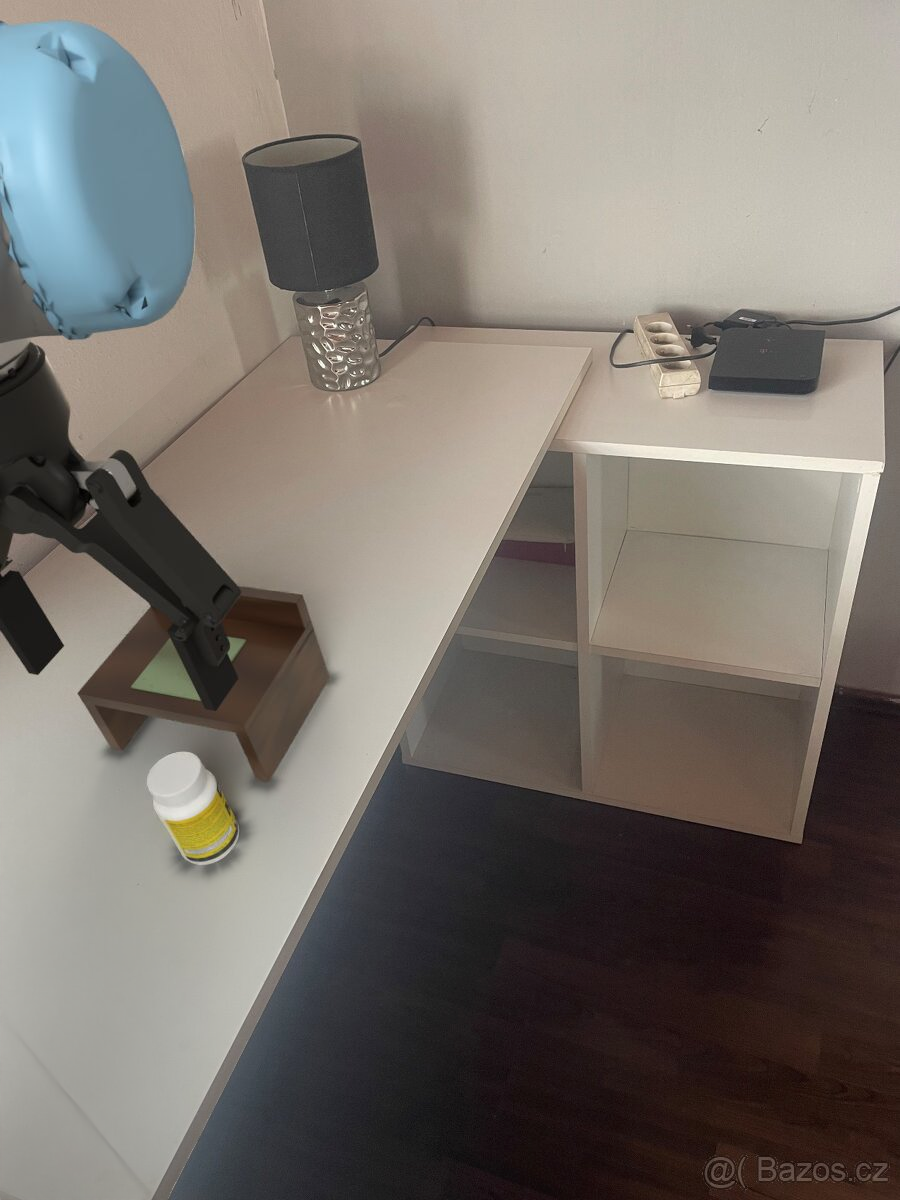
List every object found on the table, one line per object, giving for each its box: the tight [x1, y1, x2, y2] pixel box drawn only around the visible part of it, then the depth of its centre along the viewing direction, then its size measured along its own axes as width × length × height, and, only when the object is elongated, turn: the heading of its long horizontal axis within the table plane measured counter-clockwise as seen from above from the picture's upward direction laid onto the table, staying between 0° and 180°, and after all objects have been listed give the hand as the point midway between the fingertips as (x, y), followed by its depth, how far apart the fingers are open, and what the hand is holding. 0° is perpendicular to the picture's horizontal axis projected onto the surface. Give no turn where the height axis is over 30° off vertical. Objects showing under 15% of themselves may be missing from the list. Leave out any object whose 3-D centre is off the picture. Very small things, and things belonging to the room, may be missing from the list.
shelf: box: [76, 585, 330, 783], centre depth 74 cm, size 12×16×10 cm
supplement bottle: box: [146, 750, 240, 866], centre depth 65 cm, size 5×5×8 cm
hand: (131, 676), depth 54 cm, fingers open, 13 cm apart
